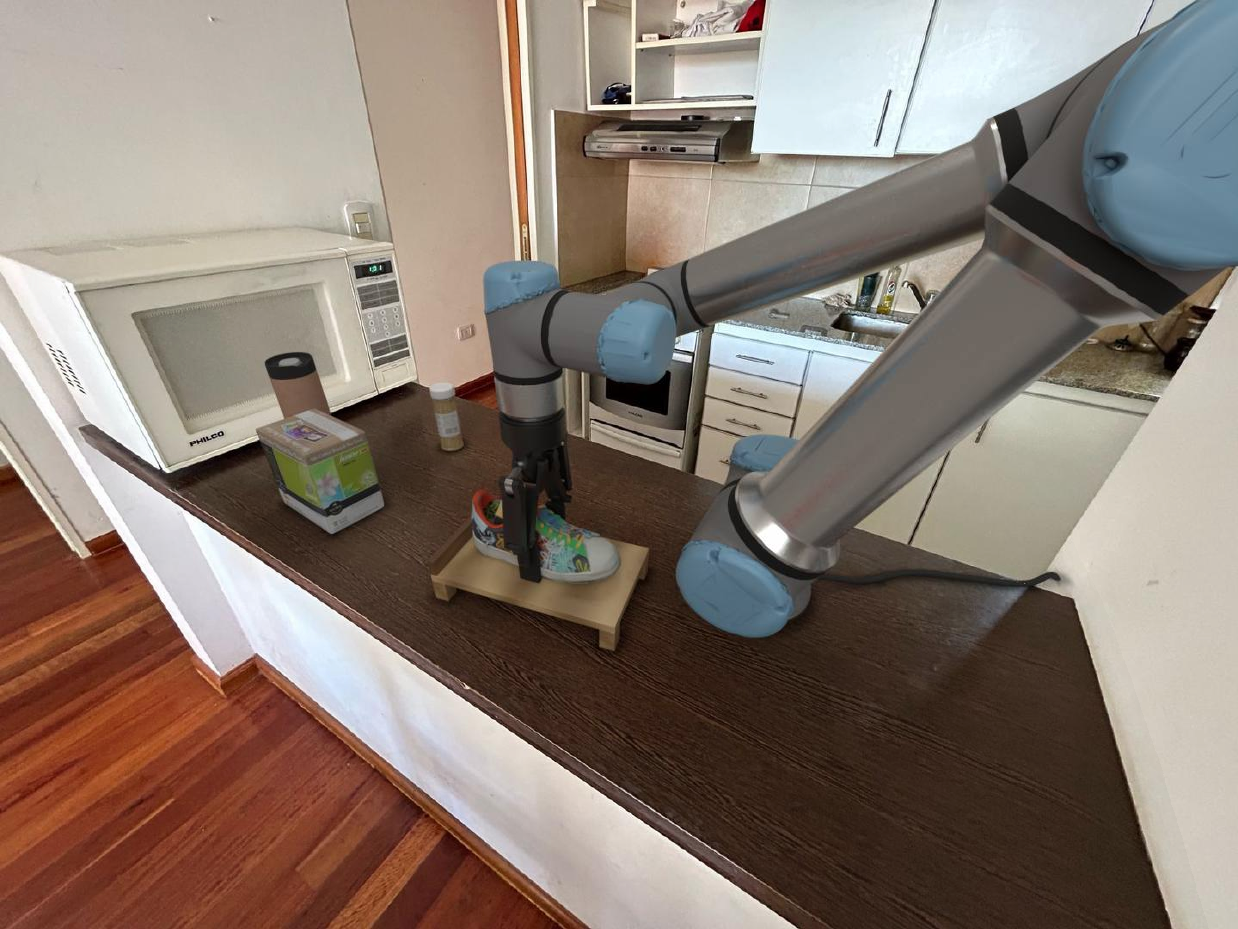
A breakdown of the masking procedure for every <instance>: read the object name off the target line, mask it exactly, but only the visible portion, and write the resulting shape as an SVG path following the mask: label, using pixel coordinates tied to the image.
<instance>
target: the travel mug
mask: <svg viewBox="0 0 1238 929" xmlns="http://www.w3.org/2000/svg"><path fill="white" fill-rule="evenodd" d="M264 367H265V369H266V372H267V376H268V378H269V381H270V383H271V386H272V389H273V392H274V394H275V397H276V400H277V403H278V405H279V408H280V411H281V414H282V416H283V419H285V418H288V417H291V416H294V415H297V414H300V413H303V412H306V411H308V410H311V409H317V410H319V411H321V412H323V413H326V414H328V415H330V416H332V412H331V409H330V405H329V403H328V400H327V396H326V393H325V390H324V387H323V384H322V381H321V378H320V375H319V373H318V369H317V366H316V364H315V360H314V358H313V355H312V354H311V353H309V352H304V351H292V352H291V351H290V352H283V353H280V354H276V355H273V356H271V357H268V358H267V359H266V360H265V361H264ZM332 417H333V416H332Z"/></svg>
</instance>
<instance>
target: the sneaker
mask: <svg viewBox="0 0 1238 929" xmlns="http://www.w3.org/2000/svg"><path fill="white" fill-rule="evenodd" d="M471 501H472V502H471V505H472V506H471V515H472V518H471V519H472V529H473V541H474V544H475V546H476V548H477V549H478V550H479V551H480V552H482V553H483V554H484V555H487V556H489V557H492V558H495V559H500V560H503V561H506V562H509V563H511V564H514V565H517V566H519V564H518V560H517V552H515V551H511V550H507V549H504V541H503V517H502V496H498V495H493V494H491V493H489V490H487V489H486V488H480V489H479V490H477V491H476V492H475V493H474V494H473V497H472V499H471ZM601 537H602V536H601V534H599V533H596V532H593V531H590V530H587V529H585V528H579V527H577V526H576V525H573V524H570V523H568V522H567V520H566V521H565V520H563V519H562V518H561V517H560V515H556V514H554V513H553V512H552V511H551V510H549V509H547V508H546V506H545V503H541V501H539V500H538V509H537V518H536V527H535V537H534V540H535V541H538V546H539V557H540V568H541V577H542V578H544V579H547V580H551V581H556V582H565V583H575V584H583V583H593V582H598V581H601V580H604V579H607V578H609V577H610V576H612V575H613V574H614V573H615V572H616V571H617V570H618V569H619V567H620V565H621V558H620V554H619V551H618V550H617V548H616V547H615V546H614V545H613V544H612V543H610V542H609V541H607V540H605V539H603V538H601Z"/></svg>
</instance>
